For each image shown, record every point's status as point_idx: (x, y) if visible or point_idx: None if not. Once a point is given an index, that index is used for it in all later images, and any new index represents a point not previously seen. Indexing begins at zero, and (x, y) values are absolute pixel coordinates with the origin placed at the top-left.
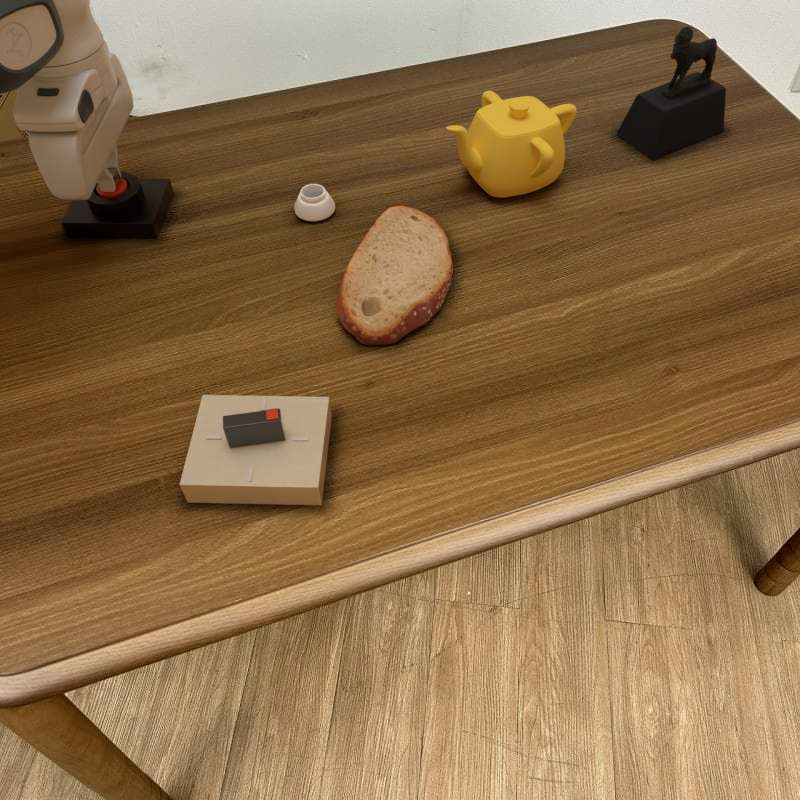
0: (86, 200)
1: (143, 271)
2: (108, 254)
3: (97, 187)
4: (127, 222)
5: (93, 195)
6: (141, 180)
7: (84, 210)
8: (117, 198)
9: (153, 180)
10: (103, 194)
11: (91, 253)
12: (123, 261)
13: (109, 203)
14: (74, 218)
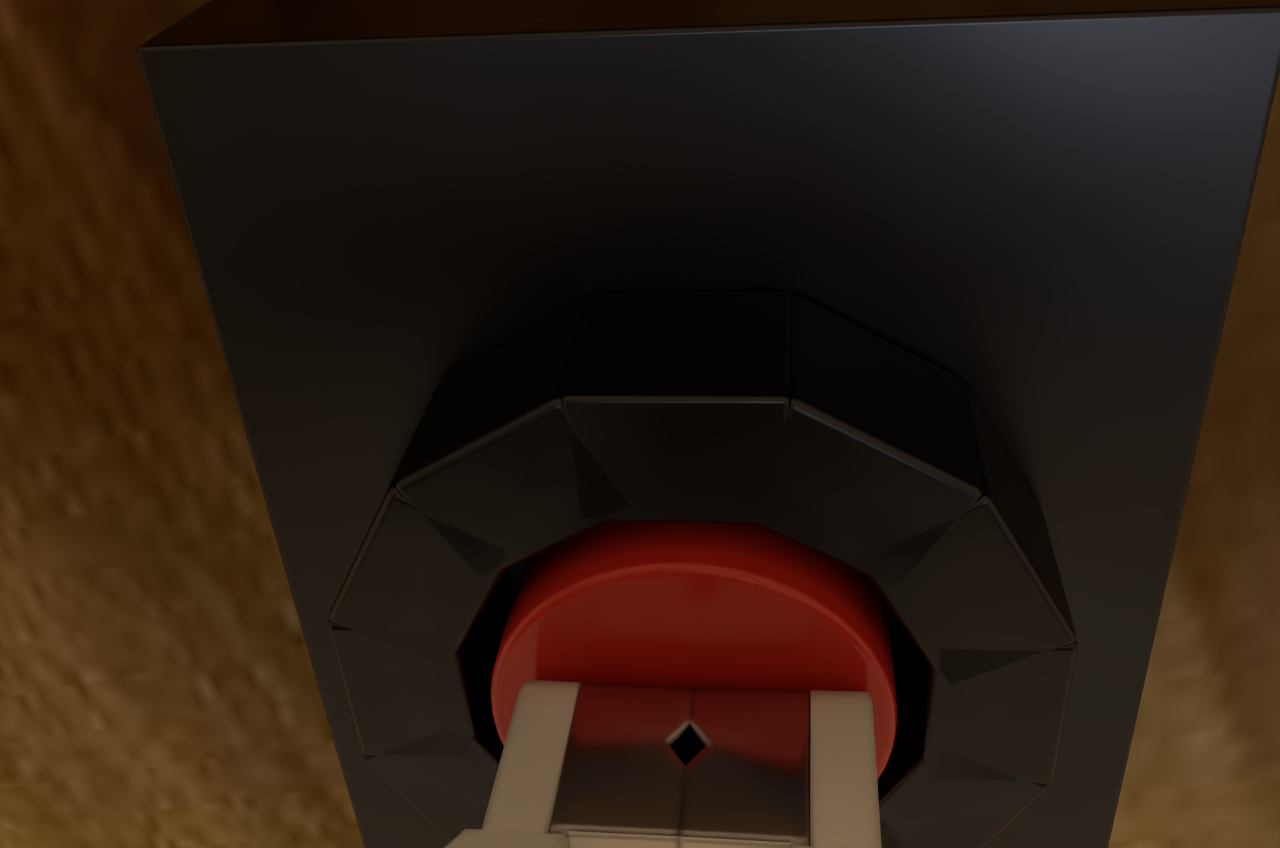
0: (669, 244)
1: (40, 734)
2: (127, 470)
3: (632, 590)
4: (342, 731)
5: (484, 550)
6: (1092, 729)
7: (456, 279)
8: (474, 790)
9: (1071, 826)
10: (495, 677)
11: (87, 324)
12: (88, 595)
13: (364, 738)
14: (265, 209)
